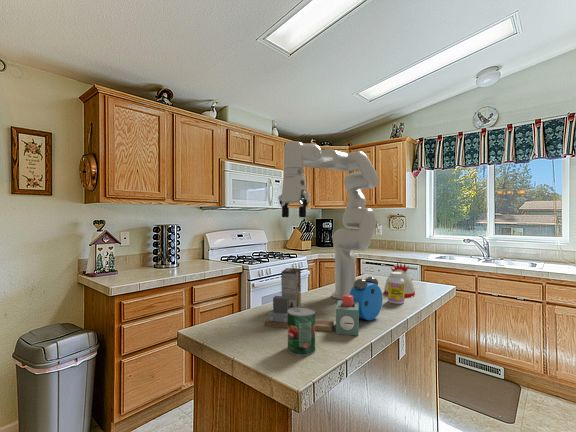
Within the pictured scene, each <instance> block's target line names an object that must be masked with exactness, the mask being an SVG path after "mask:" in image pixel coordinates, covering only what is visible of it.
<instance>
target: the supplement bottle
mask: <svg viewBox="0 0 576 432" xmlns="http://www.w3.org/2000/svg"><path fill="white" fill-rule="evenodd" d="M390 274H391V278H389V280H388V295H387V300H388V302H389V303H391V304H394V305H396V304H397V305H402V304H404V303H405V297H404V280H403V279H402V273H401V272H393V271H391V272H390Z"/></svg>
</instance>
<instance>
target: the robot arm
mask: <svg viewBox="0 0 576 432" xmlns="http://www.w3.org/2000/svg"><path fill="white" fill-rule="evenodd" d="M283 146H284V147H283V157H284V158H283V173H284V174H283V176H284V177H283V180H282V186H281V187H282V188H281V194H280V195H279V196H278V197H277V199H278V202H279V205H280V208H281V217H282V218H289V216H290V212H289V210H290V208H289V207H288V206H289V205H290V203H292V204H294V203H298V205H299V206H298V217H299V218H306V216H307V207H308V204H310V199H311V197H312V196H311V194H310V193H308V192H307V181H306V176H304V173H305V170H304V168H312V169H313V168H314V169H325V170H326V169H329V170H333V171H334V170H335V171H340V172H350V173H348V174H346V175H345V177H344V181H343V184H344V186H345V189H346V193H347V195H348V201H347V204H346V207H345V210H344V213H343V216H342V220H341V221H342V224H343V226H344V227H346V228H339V229H337V230H335V232H334V233H333V234H332V235H333V236H332V243H333V249H334V282H335V283H334V291H332V293H331V297H332V298H333V299H336V300H341V301H342V295H350V291H351V289H352V287H353V286H354V282H355V281H356V280H357V267H356V266H357V259H356V255H355V253H354V251H359V252H360V251H361V252H362V251H366V250H367V249H368V248H369V247H370V245H371V242H372V238H373V235H374V231H375V228H376V224H377V214H376V212H375V210H374V209H372V208H369V207H366V205H367V200H366V197H365V195H364V193H363V192H362V190H371V189H375V188H376V187H377V186H378V184H379V176H378V172H377V171H376V169H375V167H374V166H373V163H372V162H371V160H370V159H369V157H368V155H367V154H366V153H365V152H363V151H362V150H358V151H353V152H344V151H339V150H336V149H332V148H331V149H329V148H327V149H321V147H320V146H319V145H318V144H316V143H312V142H311V143H304V142H301V141H295V140H293V141H292V140H291V141H287V142H286V143H285V144H283Z"/></svg>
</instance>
